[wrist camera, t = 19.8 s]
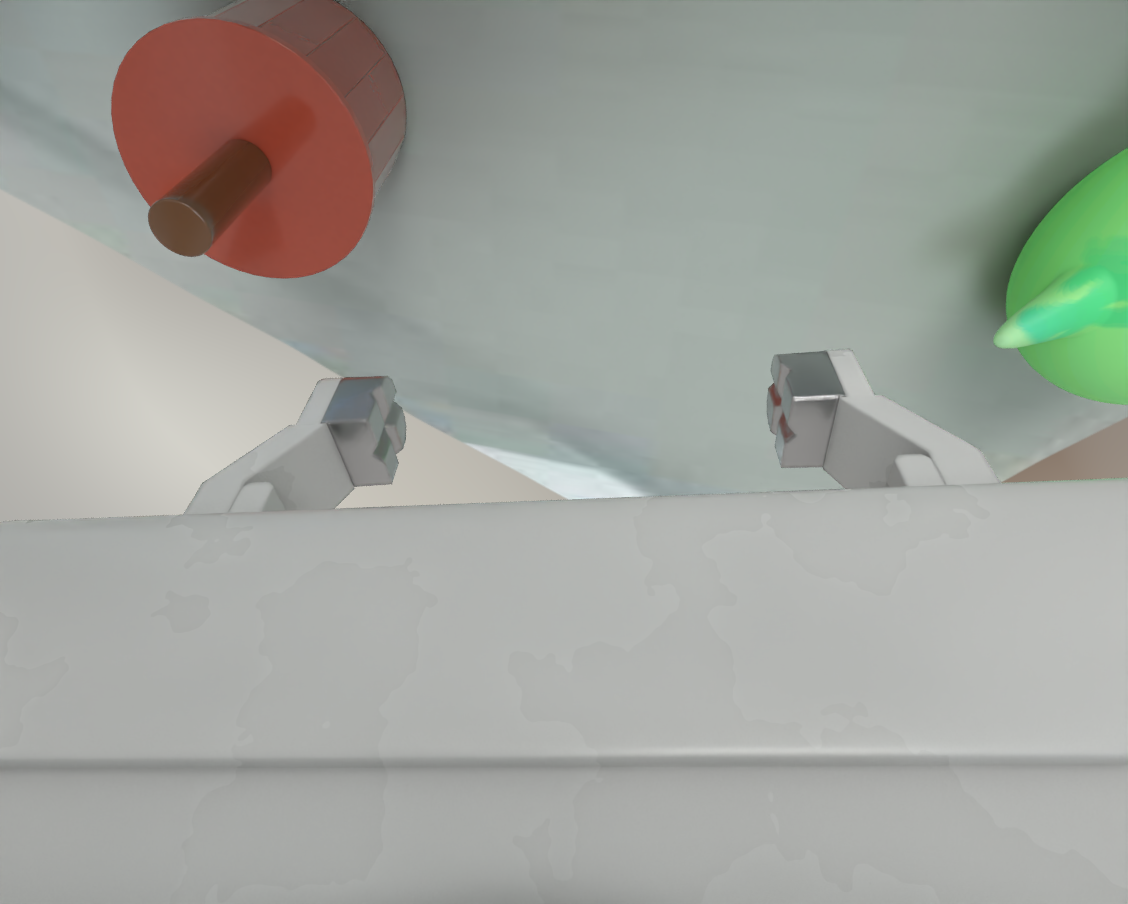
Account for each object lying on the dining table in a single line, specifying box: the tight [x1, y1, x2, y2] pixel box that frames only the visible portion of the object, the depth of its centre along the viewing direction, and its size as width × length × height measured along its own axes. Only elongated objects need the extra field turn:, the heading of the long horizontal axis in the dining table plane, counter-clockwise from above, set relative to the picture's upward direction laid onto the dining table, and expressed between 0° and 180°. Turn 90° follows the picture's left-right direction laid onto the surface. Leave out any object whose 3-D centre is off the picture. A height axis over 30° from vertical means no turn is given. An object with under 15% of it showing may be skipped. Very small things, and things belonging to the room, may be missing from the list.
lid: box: [111, 16, 375, 278], centre depth 32 cm, size 13×13×9 cm
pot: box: [207, 0, 406, 196], centre depth 39 cm, size 12×12×10 cm
